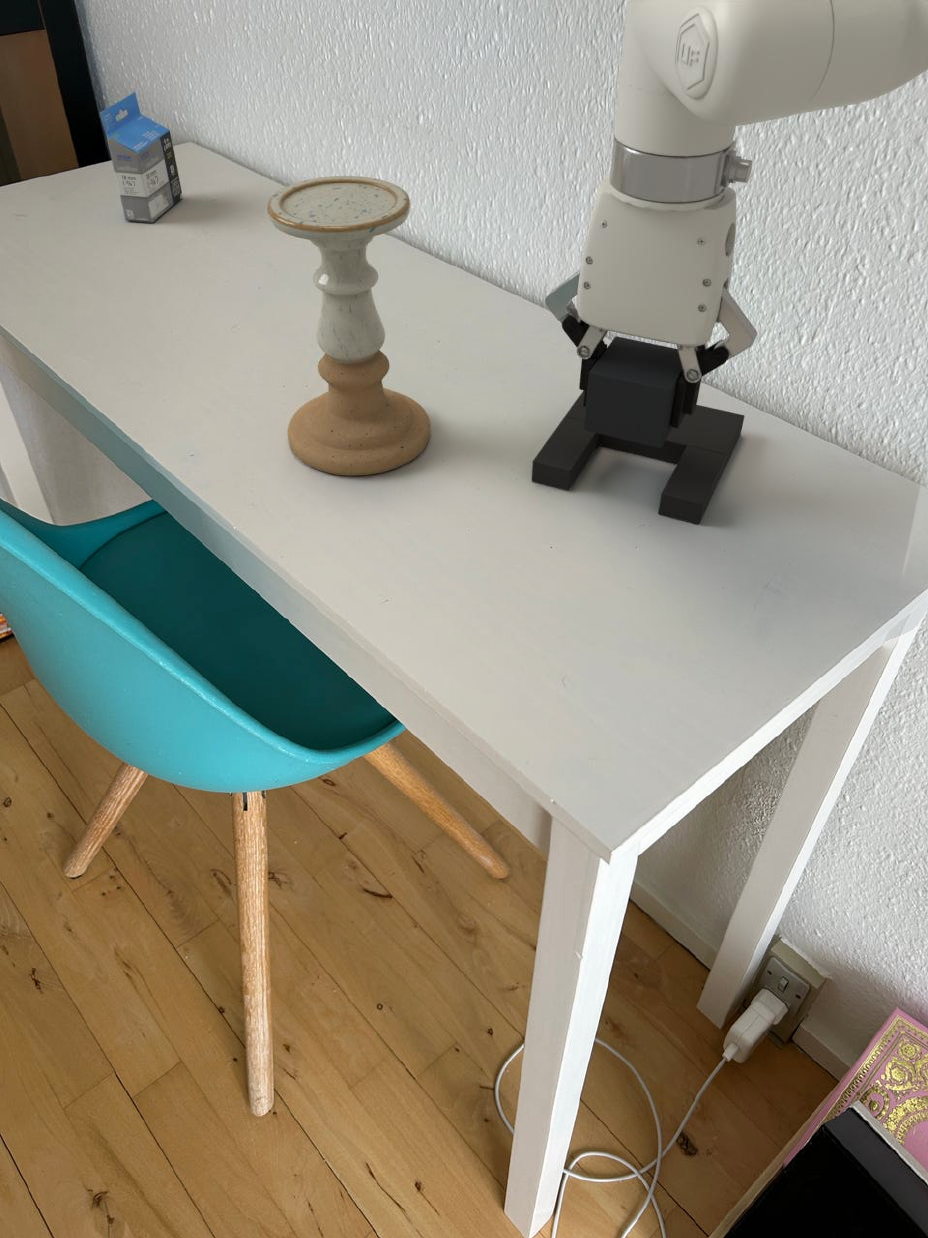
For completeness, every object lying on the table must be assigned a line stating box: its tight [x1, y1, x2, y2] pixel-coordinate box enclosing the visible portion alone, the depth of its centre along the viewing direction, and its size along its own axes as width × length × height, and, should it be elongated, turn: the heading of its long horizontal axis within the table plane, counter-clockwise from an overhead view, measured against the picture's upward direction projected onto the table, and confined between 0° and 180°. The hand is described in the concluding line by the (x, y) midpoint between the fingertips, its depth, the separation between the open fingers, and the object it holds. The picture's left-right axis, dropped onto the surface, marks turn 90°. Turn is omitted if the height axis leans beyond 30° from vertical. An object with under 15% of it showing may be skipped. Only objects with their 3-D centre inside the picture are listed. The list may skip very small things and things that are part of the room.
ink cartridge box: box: [99, 91, 184, 224], centre depth 119 cm, size 9×4×12 cm, turn 167°
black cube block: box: [584, 335, 683, 448], centre depth 75 cm, size 6×6×5 cm
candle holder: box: [266, 175, 431, 476], centre depth 78 cm, size 12×12×20 cm
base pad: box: [531, 390, 745, 525], centre depth 82 cm, size 14×14×2 cm
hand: (635, 407), depth 76 cm, fingers closed on black cube block, 6 cm apart
